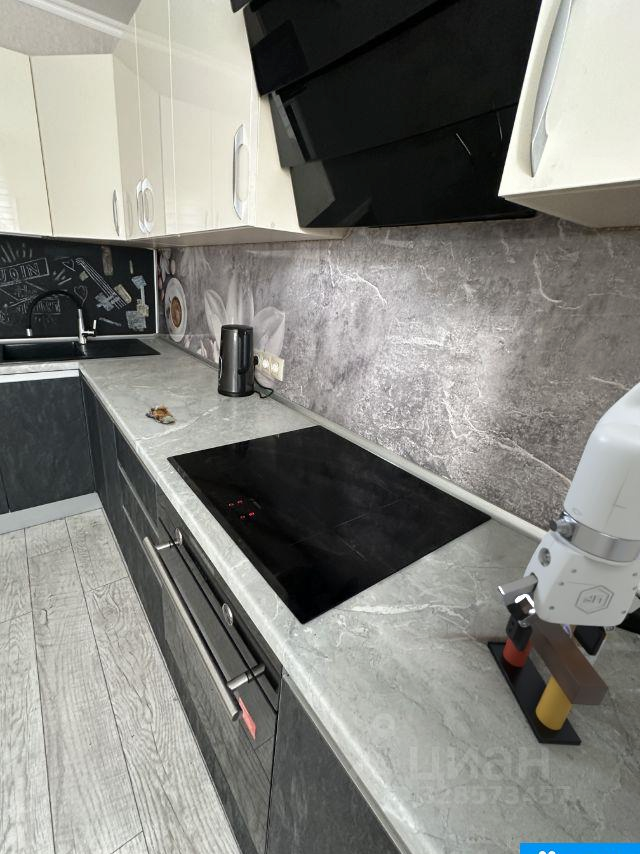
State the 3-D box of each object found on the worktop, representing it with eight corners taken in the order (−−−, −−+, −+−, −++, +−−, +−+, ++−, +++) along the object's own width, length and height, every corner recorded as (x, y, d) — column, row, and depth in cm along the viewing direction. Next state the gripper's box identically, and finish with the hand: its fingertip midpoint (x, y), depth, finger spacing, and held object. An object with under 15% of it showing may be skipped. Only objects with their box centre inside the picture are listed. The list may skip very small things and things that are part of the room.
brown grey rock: (163, 425, 128) (163, 415, 126) (143, 415, 135) (143, 405, 134) (181, 420, 133) (181, 410, 132) (161, 410, 140) (161, 401, 139)
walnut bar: (599, 706, 43) (609, 688, 42) (571, 704, 43) (580, 686, 42) (526, 604, 56) (532, 588, 55) (504, 602, 56) (510, 587, 55)
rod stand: (519, 646, 59) (535, 607, 56) (580, 745, 47) (604, 702, 44) (486, 645, 59) (501, 605, 56) (539, 743, 47) (560, 699, 44)
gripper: (541, 550, 40) (496, 668, 46) (708, 560, 40) (640, 676, 46) (503, 507, 47) (468, 614, 53) (645, 516, 47) (593, 622, 53)
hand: (548, 643), depth 49 cm, fingers open, 8 cm apart
